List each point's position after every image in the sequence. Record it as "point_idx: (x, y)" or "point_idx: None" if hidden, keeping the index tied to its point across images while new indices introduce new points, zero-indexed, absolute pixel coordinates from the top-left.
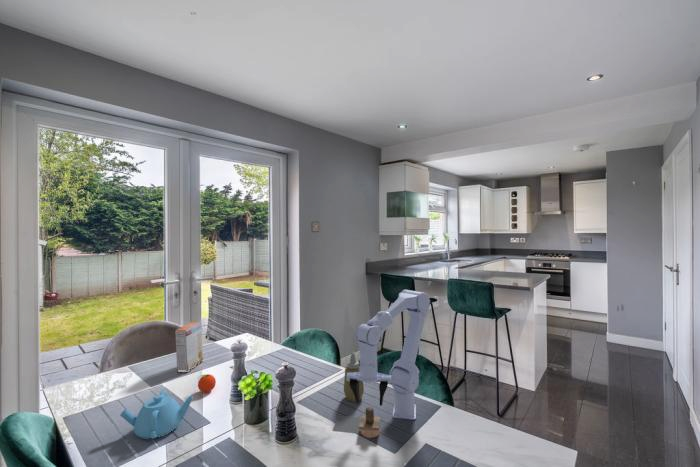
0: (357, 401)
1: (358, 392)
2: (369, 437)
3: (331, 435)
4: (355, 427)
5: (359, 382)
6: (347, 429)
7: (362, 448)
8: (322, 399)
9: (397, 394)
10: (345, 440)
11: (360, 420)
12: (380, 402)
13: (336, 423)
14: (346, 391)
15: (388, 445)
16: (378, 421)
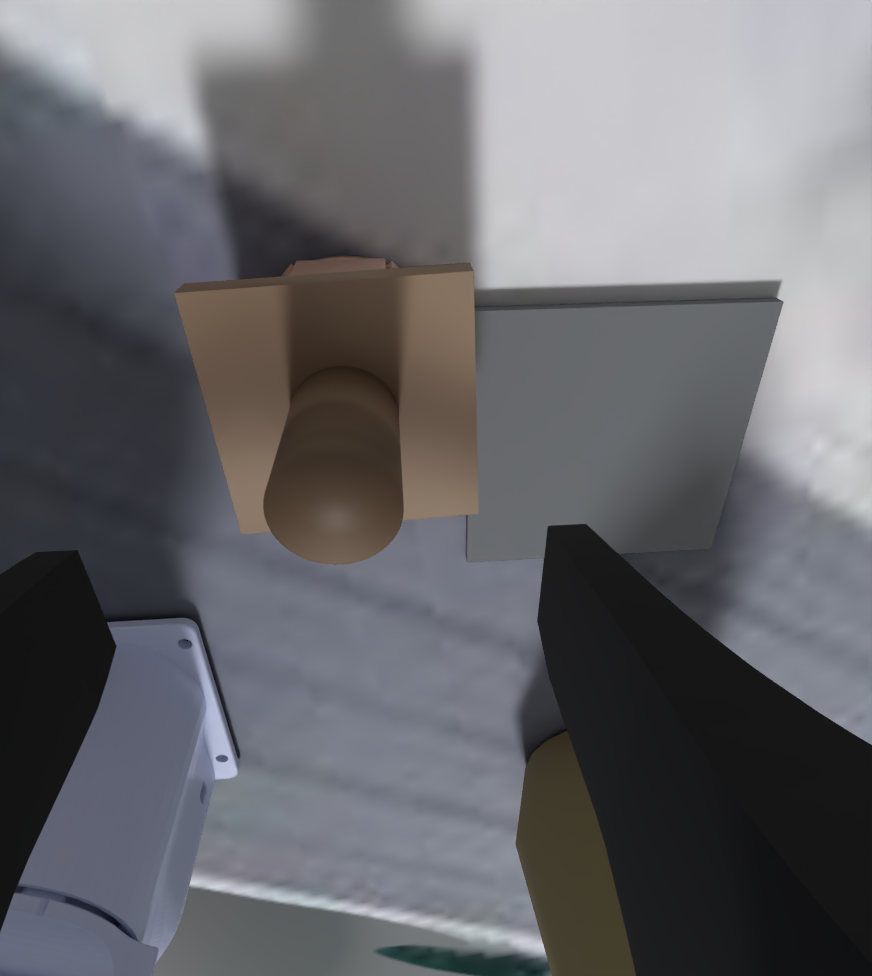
0: (579, 546)
1: (604, 756)
2: (333, 260)
3: (784, 231)
4: (525, 406)
5: (574, 923)
6: (609, 356)
7: (376, 31)
8: (845, 707)
9: (60, 857)
10: (615, 166)
11: (473, 415)
12: (5, 588)
13: (733, 429)
14: None
15: (69, 171)
16: (233, 440)
